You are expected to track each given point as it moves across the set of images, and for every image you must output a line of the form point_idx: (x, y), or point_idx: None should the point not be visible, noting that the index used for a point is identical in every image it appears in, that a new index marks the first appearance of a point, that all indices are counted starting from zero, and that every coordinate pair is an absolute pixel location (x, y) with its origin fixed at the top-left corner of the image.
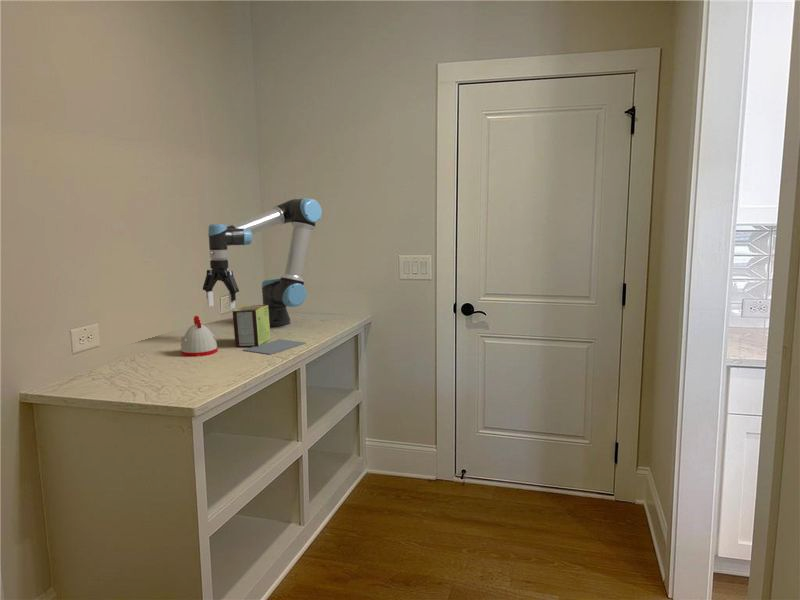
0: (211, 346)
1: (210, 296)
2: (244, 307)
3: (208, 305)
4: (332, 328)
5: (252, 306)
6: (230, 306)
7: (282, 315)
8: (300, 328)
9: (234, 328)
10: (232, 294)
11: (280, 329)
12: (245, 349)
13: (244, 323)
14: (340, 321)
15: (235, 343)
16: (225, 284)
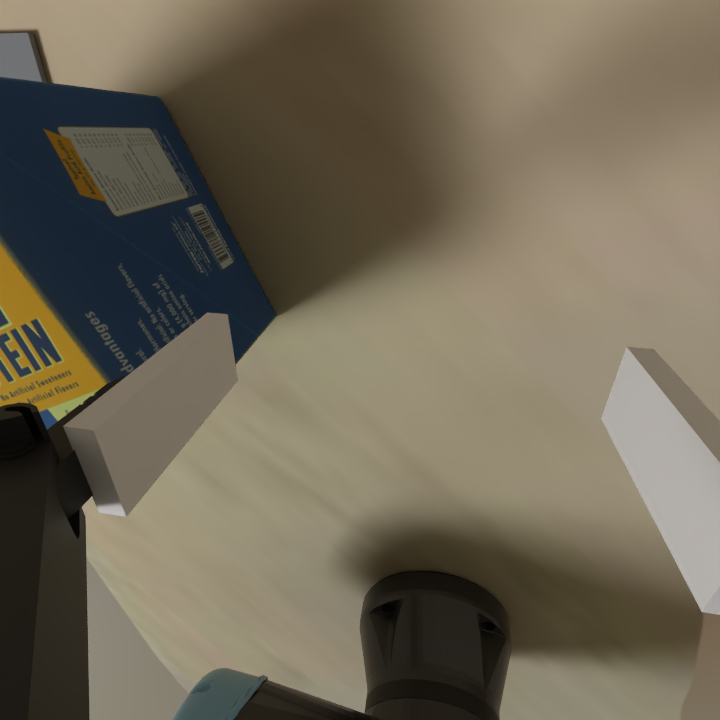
0: None
1: (681, 478)
2: (8, 327)
3: (642, 353)
4: (149, 582)
5: (2, 395)
6: (195, 323)
7: (366, 648)
8: (254, 563)
9: (55, 85)
10: (52, 437)
11: (317, 534)
12: (23, 49)
13: None
14: (224, 666)
15: (143, 95)
16: (4, 645)
